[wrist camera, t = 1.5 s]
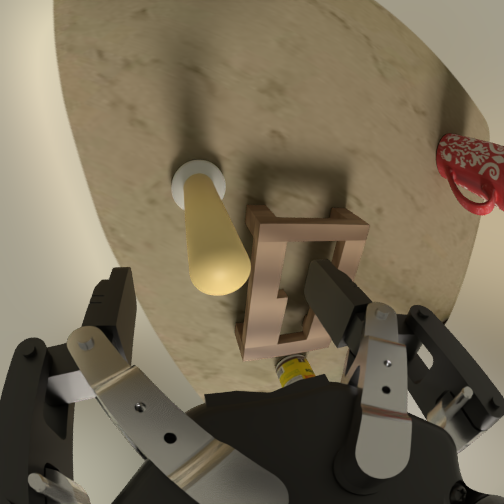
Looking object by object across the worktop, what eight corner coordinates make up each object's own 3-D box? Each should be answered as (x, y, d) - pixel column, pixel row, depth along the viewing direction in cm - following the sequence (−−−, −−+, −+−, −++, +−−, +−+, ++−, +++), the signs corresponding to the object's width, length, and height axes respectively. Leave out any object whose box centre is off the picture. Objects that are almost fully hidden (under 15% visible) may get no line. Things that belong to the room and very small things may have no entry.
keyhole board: (246, 204, 27) (260, 223, 23) (345, 208, 30) (370, 225, 26) (234, 333, 36) (243, 361, 31) (314, 323, 39) (328, 347, 35)
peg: (172, 159, 23) (161, 219, 10) (225, 159, 24) (280, 218, 12) (171, 209, 26) (169, 315, 13) (221, 209, 27) (266, 308, 14)
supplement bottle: (309, 362, 44) (333, 408, 35) (281, 377, 44) (301, 424, 35) (300, 347, 41) (326, 397, 32) (269, 363, 41) (290, 415, 32)
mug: (456, 117, 28) (528, 140, 16) (465, 166, 32) (528, 195, 21) (411, 153, 29) (495, 187, 18) (425, 205, 34) (493, 247, 22)
